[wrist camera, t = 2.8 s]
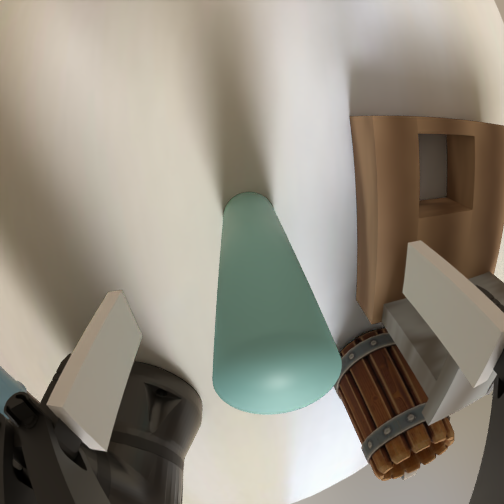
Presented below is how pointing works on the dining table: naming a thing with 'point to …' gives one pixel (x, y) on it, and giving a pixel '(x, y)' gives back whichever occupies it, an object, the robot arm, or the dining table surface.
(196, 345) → the dining table surface
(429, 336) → the socket block
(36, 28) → the dining table surface
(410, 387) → the mug
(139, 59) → the dining table surface
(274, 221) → the peg
